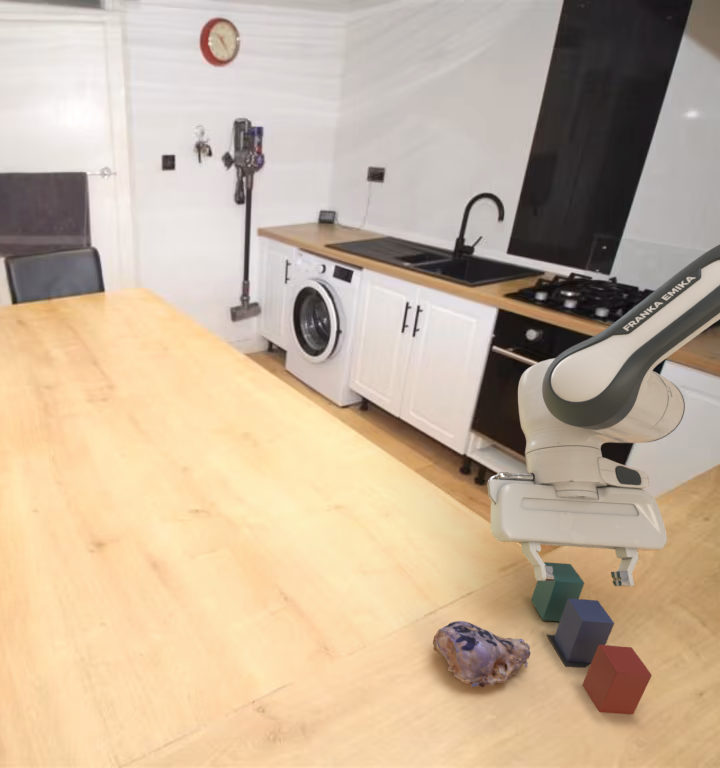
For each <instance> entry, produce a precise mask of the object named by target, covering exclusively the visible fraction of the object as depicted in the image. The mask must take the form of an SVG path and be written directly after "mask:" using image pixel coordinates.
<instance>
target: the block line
mask: <svg viewBox="0 0 720 768" xmlns="http://www.w3.org/2000/svg"><path fill="white" fill-rule="evenodd" d="M543 562H544V564H545V565H546V566H552V567H553V573H552V574H553V575H554V581H537V580H536V584H535V587H534V590H533V594H532V596H531V598H530V600H531V601H530V602H531V603H532V604H533V606H534V608H535V610H536V611H537V613H538V615H539V616H540V618H541V620H542V621H547V622H548V621H550V622H560V619H561V617H562V614H563V611H564V608H565V606H566V603H567V600H568V598H571V599H580V596H581V594H582V591H583V589H584V585H585V582H584V580H583V579H582V577H581V576H580V575H579V574H578V572H577V571H576V569H575V567H574V566H573V565H572V564H571V563H563V562H562V563H559V562H547V561H543ZM546 636H547V638H548V640H549V642H550V643H551V645H552V647H553V649H554V650H555V652H556V654H557V656H558V657H559V659H560V661H561V662H562V664H563V665H564V667H565V668H583V669H584V668H587V667H588V666H589V668H588V669H587V672H586V675H585V678H584V679H583V682H582V684H581V687H583V690H585V692H586V694H587V695H588V697H589V698H590V700H591V702H592V703H593V705H594V706H595V708H596V709H597V711H598V713H602V714H603V713H606V714H619V715H634V714H635V712H636V710H637V708H638V705H639V703H640V701H641V700H642V697H643V696H644V693H645V691H646V688H647V687H648V684H649V682H650V680H651V678H652V677H653V675H652V673H651V672H650V671H649V668H648V667H647V666H646V665H645V663H644V662H643V660H642V659H641V658H640V657H639V655H638V654H637V652H636V651H635V650H634V648H633V647H630V646H622V645H621V646H619V645H608V644H606V645H598V648H597V650H596V652H595V655H594V657H593V660H592V662H591V664H588V663H576V662H567V660H566V658H565V657H564V655H563V653H562V652H561V650H560V648H559V647H558V645H557V643H556V641H555V640H554V636H555V634H546Z"/></svg>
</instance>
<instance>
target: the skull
mask: <svg viewBox="0 0 720 768" xmlns="http://www.w3.org/2000/svg"><path fill="white" fill-rule="evenodd" d="M432 645H433V651H434V652H436V653H438V655H440V656H441V657H442V658H444V659H445V660H446V662H447V664H448V666H447V671H448V672H451V673H453V677H455V678H456V679H457V680H458V681H460V682H461V683H462V684H465V685H469V686H470V687H472V688H474V687H478V688H485V687H486V686H494V685H495V684H498V683H501V684H502V683H507V682H508V679H509V678H511V677H512V676H513V675H514V674H518V672H519V671H520V669H521V667H522V665H524V668H525V669H526V668H528V665H529V663H528V660H529V659H530V657H531V651H530V648H531V646H530V645H529V643H527V642H525V639H523V638H511V637H507V638H505V637H501V636H498V635H495V634H494V633H493V632H492V631H490V630H487V629H483V628H482V627H480V626H479V625H475V624H474V623H471V622H468V621H463V620H457V621H451V622H450V623H448V624H447V625H444V626H443V627H441V628H439V629H438V630H437V631H436V633H435V634H434V636H433V640H432Z"/></svg>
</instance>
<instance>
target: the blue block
mask: <svg viewBox="0 0 720 768" xmlns="http://www.w3.org/2000/svg"><path fill="white" fill-rule="evenodd" d="M614 625H615V622H614V621H613V619H612V617H611V616H610V615H609V614H608V612H607V611H606V610H605V608H604V607H603V605H602V604H601V602H600V601H598V600H597V599H596V600H595V599H581V598H579V599H571V598H568V600H567V603H566V606H565V608H564V611H563V614H562V617H561V619H560V621H558V625H557V628H556V632H555V634H554V635H555V636H554V640H555V641H556V643H557V645H558V647H559V648H560V650H561V652H562V653H563V655H564V657H565V658H566V660H567V662H576V663H588V664H590V665H591V662H592V660H593V657H594V655H595V652H596V650H597V648H598V645H607V642H608V640H609V637H610V635H611V632H612V630H613V628H614Z"/></svg>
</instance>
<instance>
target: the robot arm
mask: <svg viewBox="0 0 720 768" xmlns="http://www.w3.org/2000/svg"><path fill="white" fill-rule="evenodd" d="M719 320H720V244H718V245H716V246H714V247H712V248H711V249H709V250H708V251H706V252H704V253H703V254H701V255H700V256H698V257H697V258H696V259H694V260H693V261H691V262H690V263H689V264H688V265H686V266H685V267H683V268H682V269H681V270H679V271H678V272H677V273H675V274H674V275H673V276H672V277H670V278H669V279H668V280H667V281H665V282H664V283H663V284H662V285H660V286H658V288H656V289H655V290H654V291H653V292H651V293H650V294H649V295H648V296H646V297H645V298H644V299H642V300H641V301H640V302H639V303H638V304H636V305H635V306H634V307H632V308H631V309H630V310H629V311H627V312H626V313H625V314H624V315H622V316H621V317H620V318H619V319H617V320H616V321H615V322H613V323H612V324H611V325H609V326H608V327H607V328H605V329H603V330H602V331H600V332H599V333H597V334H595V335H594V336H591V337H590V338H587V339H586V340H583V341H581V342H579V343H576V344H575V345H573V346H570V347H569V348H567V349H565V350H564V351H562V352H561V353H559V354H558V355H557V356H556V357H553V358H548V359H545V360H541V361H538V362H536V363H535V364H533V365H531V366H529V367H528V368H527V369H525V370H524V371H523V373H522V374H521V375H520V378H519V381H518V387H517V403H518V404H517V405H518V416H519V422H520V428H521V430H522V432H523V435H524V437H525V441H526V442H525V444H526V445H525V451H524V456H525V463H526V471H527V472H507V471H499V472H497V473H496V474H494V475H492V476H491V477H489V479H488V480H487V486H486V487H487V495H488V498H489V500H490V515H489V516H490V517H489V518H490V519H489V520H490V534H491V535H492V536H493V537H494V539H495V540H496V541H497V542H499V543H511V544H512V543H513V544H521V551H522V554H523V555H524V557H525V558H526V559H527V561H528V562H529V563H530V565H531V567H533V571H534V577H535V580H536V582H537V581H554V575H553V574H552V573H553V567H552V566H546V565H545V564H544V562H545V561H543V559H542V557H541V556H540V555H539V552H541V551H542V547H541V546H555V547H557V546H558V547H571V548H572V547H573V548H587V549H600V550H601V549H602V550H614V552H615V556H616V558H617V559H621V560H620V563H619V566H618V568H617V570H616V571H610V575H611V578H612V584H613V586H615V587H619V588H620V587H621V588H634V587H635V582H634V581H635V580H634V575H633V572H634V571H635V568H636V566H637V563H638V561H639V559H640V556H639V552H655V551H656V552H657V551H661V550H663V549H664V548H665V546H666V545H667V543H668V535H667V531H666V527H665V526H666V525H665V522H664V519H663V516H662V513H661V510H660V507H659V504H658V502H657V500H656V498H655V497H654V496H653V495H652V494H651V493H650V492H649V491H646V490H644V489H647V488H648V487H650V478H649V475H648V474H647V473H646V472H645V471H643V470H640V469H638V468H634V467H631V466H628V465H625V464H622V463H619V462H616V461H614V460H611V459H609V458H607V457H603V454H602V450H601V448H602V445H603V444H608V443H609V444H641V443H645V444H646V443H653V442H656V441H659V440H661V439H664V438H666V437H667V436H669V435H670V434H672V433H673V432H674V431H675V430H676V429H677V428H678V427H679V425H680V424H681V422H682V420H683V418H684V415H685V409H686V402H685V398H684V395H683V393H682V392H681V390H680V388H679V387H678V386H677V385H676V384H675V383H673V382H672V381H671V380H669V379H668V378H666V377H664V376H663V375H661V374H660V373H658V372H656V371H654V369H655V368H656V367H657V366H658V365H659V364H661V363H662V362H663V361H664V360H666V359H668V358H669V357H670V356H671V355H673V354H674V353H676V352H677V351H678V350H679V349H681V348H683V346H685V345H686V344H688V343H689V342H691V341H692V340H693V339H695V338H696V337H698V336H699V335H700V334H701V333H702V332H705V330H707V329H708V328H710V327H711V326H712V325H713V324H715V323H717V322H718V321H719Z"/></svg>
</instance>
